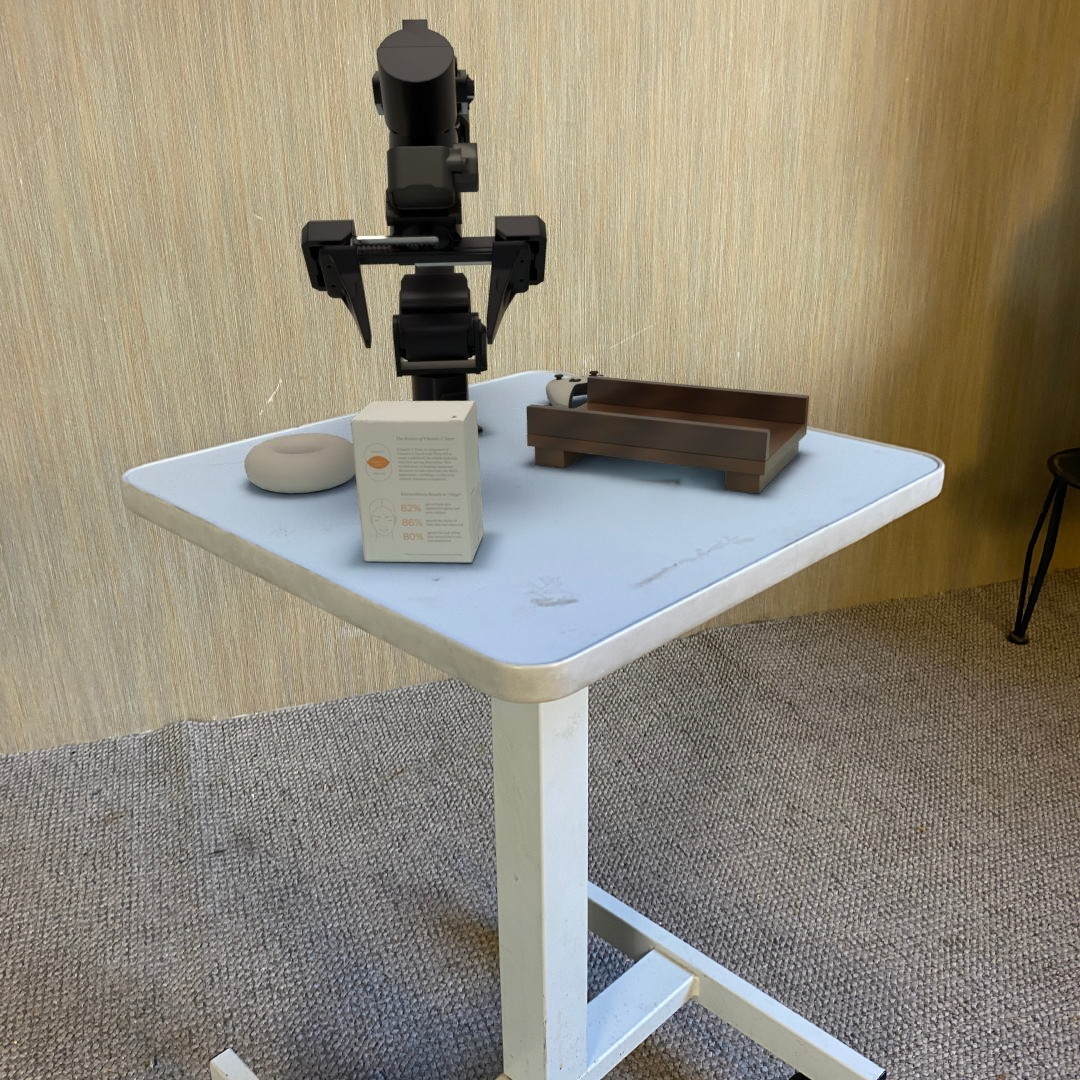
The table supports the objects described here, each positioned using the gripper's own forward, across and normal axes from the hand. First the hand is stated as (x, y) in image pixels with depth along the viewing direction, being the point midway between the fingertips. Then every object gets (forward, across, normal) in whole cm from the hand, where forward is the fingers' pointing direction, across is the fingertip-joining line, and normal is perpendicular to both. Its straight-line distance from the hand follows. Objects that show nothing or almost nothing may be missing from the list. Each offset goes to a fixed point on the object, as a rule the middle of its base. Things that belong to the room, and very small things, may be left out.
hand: (429, 343), depth 79 cm
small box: (+15, -1, +4) cm, 16 cm away
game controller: (-14, +16, +34) cm, 40 cm away
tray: (+1, +21, +18) cm, 28 cm away
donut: (+3, -12, +17) cm, 21 cm away
